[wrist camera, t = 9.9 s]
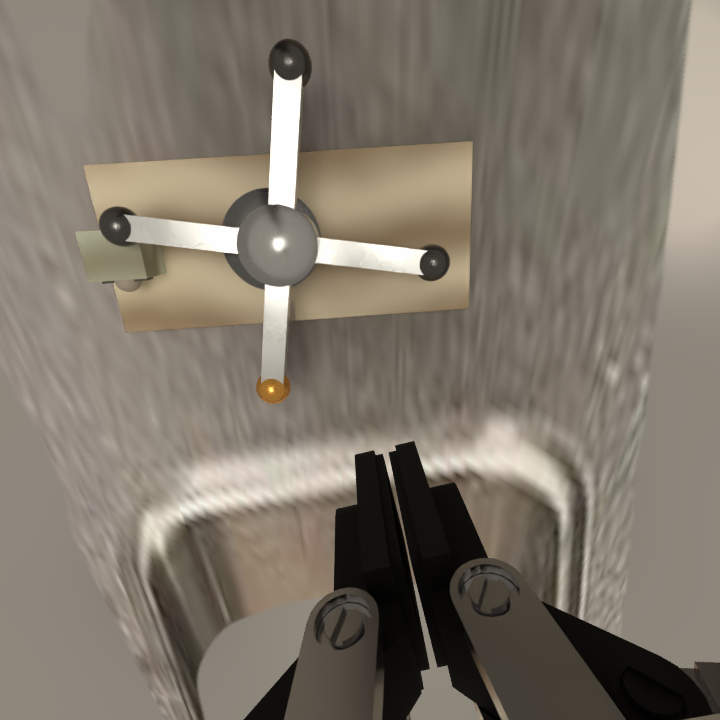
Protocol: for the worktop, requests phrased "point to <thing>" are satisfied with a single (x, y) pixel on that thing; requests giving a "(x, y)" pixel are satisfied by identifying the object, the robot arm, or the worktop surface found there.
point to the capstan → (275, 228)
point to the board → (332, 211)
